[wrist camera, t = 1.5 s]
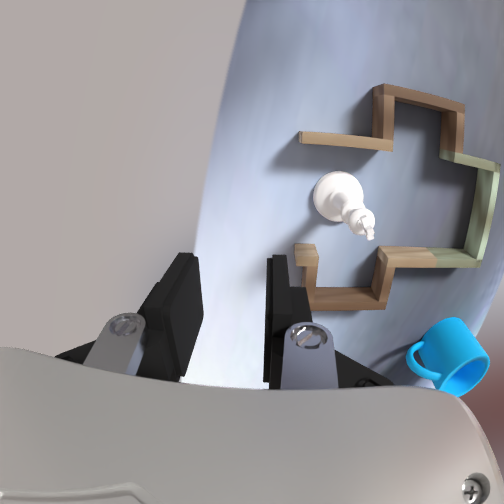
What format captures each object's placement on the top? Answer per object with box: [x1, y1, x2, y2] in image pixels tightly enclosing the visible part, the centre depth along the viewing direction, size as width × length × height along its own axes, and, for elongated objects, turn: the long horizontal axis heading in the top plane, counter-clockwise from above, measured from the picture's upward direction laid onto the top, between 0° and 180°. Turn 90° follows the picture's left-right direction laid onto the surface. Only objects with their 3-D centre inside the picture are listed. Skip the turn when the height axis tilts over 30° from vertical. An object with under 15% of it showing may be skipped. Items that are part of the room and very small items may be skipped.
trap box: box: [294, 84, 501, 311], centre depth 25 cm, size 22×22×3 cm
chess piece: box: [313, 171, 375, 241], centre depth 22 cm, size 5×5×10 cm
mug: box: [406, 317, 490, 397], centre depth 30 cm, size 12×8×8 cm
